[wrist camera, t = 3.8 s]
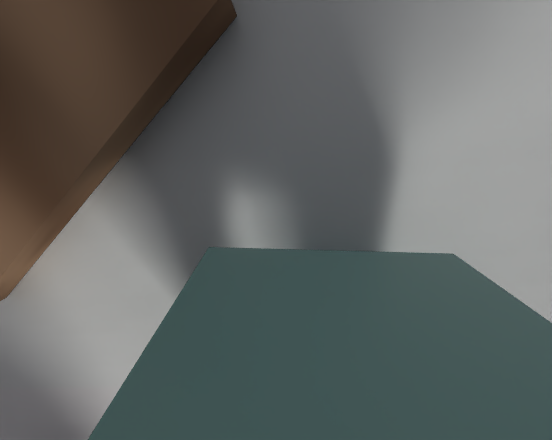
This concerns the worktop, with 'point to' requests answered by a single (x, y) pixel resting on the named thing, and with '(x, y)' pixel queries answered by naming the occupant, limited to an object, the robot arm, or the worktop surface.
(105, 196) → the worktop surface
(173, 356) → the collar
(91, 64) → the board
